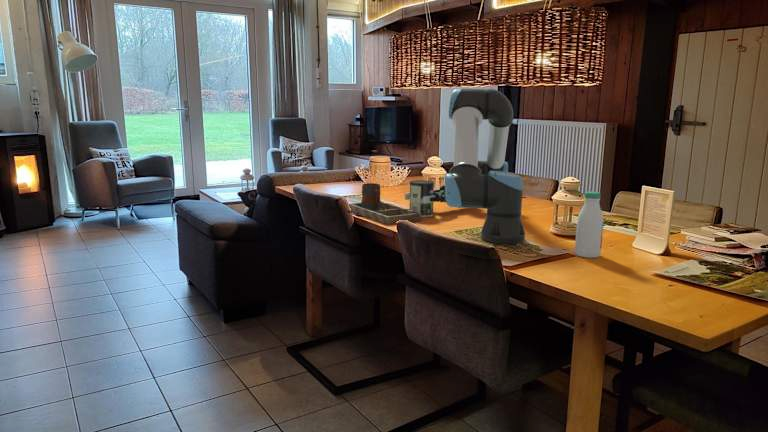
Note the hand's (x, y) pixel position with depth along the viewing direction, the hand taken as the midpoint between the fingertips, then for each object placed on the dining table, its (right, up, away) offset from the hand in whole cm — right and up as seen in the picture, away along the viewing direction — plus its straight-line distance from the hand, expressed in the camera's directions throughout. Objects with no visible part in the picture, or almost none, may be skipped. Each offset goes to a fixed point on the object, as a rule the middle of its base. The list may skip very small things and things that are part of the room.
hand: (414, 198), depth 229 cm
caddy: (-13, -7, +2) cm, 15 cm away
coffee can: (+3, -7, +4) cm, 9 cm away
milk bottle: (+51, -20, -55) cm, 78 cm away
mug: (-17, -6, +9) cm, 20 cm away
